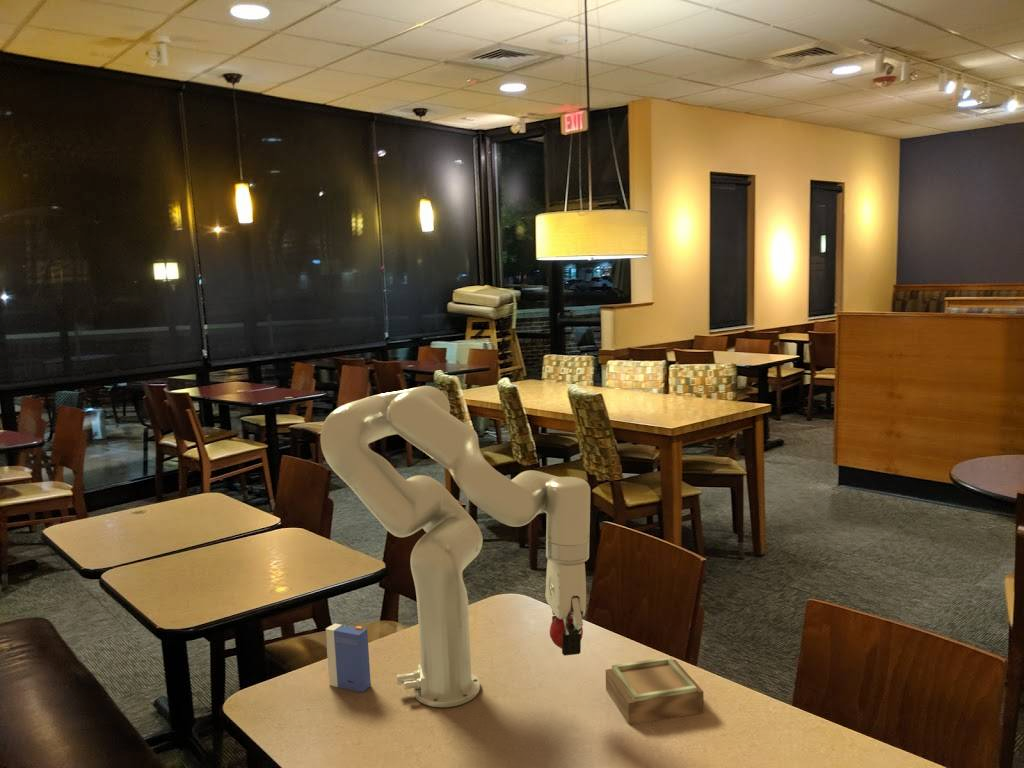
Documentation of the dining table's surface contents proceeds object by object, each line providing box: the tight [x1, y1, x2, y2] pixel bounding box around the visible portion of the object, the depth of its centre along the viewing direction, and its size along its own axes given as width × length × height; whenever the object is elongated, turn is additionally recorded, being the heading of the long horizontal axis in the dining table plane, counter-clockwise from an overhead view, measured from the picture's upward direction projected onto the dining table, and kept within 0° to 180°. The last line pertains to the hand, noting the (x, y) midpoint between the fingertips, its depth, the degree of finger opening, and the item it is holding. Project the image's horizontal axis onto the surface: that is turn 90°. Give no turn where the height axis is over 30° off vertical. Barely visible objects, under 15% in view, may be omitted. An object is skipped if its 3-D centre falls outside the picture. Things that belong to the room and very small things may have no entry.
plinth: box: [605, 656, 704, 726], centre depth 144 cm, size 14×12×5 cm
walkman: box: [325, 623, 372, 693], centre depth 152 cm, size 8×3×12 cm, turn 66°
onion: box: [549, 612, 584, 650], centre depth 140 cm, size 6×6×8 cm
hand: (565, 644), depth 141 cm, fingers closed on onion, 5 cm apart
